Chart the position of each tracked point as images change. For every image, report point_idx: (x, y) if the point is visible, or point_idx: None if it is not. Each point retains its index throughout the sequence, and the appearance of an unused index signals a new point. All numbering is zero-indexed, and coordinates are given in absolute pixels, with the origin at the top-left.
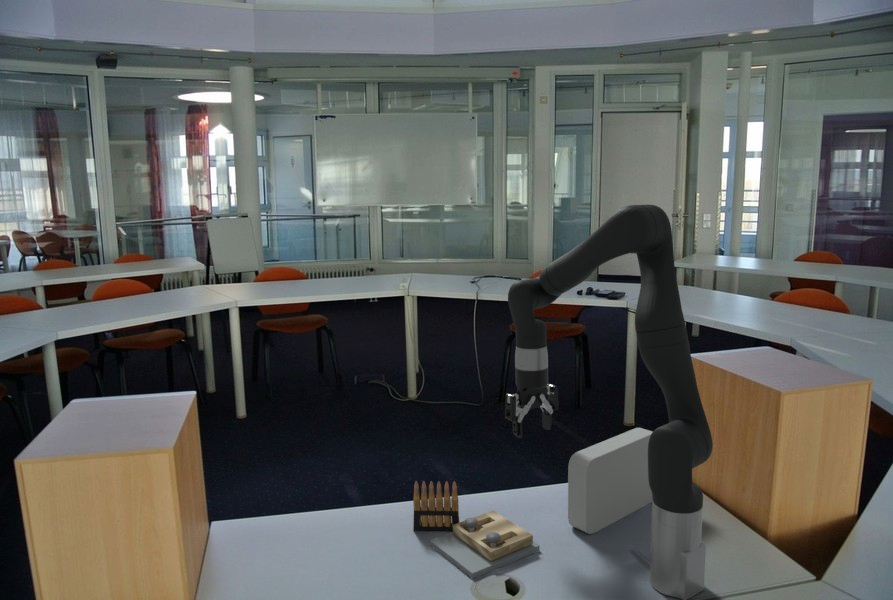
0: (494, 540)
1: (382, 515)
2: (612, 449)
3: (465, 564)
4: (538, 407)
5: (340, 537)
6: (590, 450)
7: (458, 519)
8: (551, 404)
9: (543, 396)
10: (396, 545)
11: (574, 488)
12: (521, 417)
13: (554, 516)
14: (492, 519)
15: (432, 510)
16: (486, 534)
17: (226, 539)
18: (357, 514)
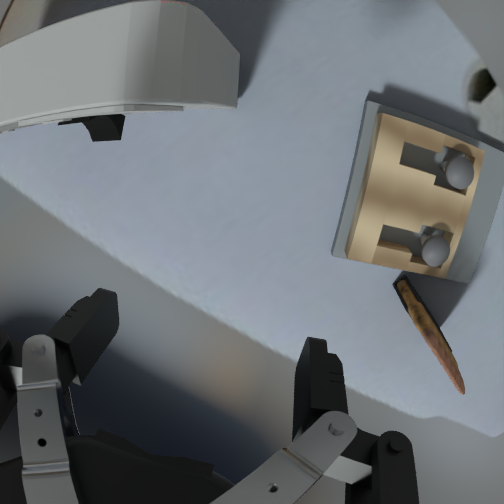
0: (469, 161)
1: (417, 386)
2: (24, 42)
3: (499, 182)
4: (116, 436)
5: (486, 372)
6: (72, 77)
7: (413, 289)
8: (6, 381)
9: (35, 493)
10: (482, 313)
11: (218, 76)
12: (323, 439)
13: (216, 167)
14: (379, 234)
15: (440, 332)
16: (442, 200)
17: None
18: (429, 403)
